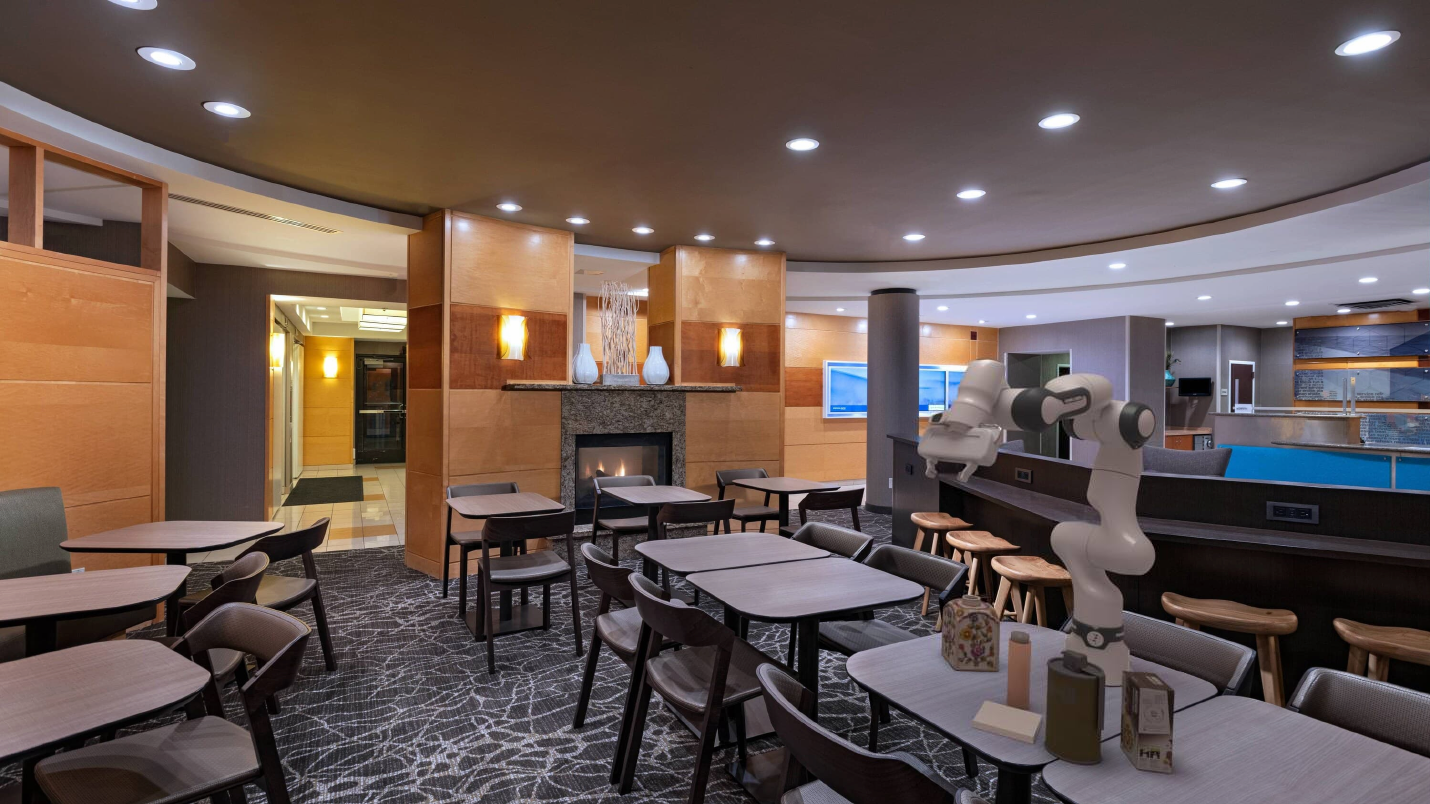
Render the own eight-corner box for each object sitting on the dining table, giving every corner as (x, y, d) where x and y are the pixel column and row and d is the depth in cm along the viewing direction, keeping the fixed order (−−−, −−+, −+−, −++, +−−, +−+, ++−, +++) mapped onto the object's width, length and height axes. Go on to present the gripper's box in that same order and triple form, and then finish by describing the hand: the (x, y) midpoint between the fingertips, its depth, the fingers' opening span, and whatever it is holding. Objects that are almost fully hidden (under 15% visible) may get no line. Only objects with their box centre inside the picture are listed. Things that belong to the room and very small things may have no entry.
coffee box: (1173, 774, 132) (1176, 691, 131) (1136, 769, 133) (1139, 687, 133) (1153, 750, 141) (1155, 672, 140) (1118, 746, 142) (1121, 668, 142)
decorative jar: (999, 672, 178) (1001, 604, 178) (954, 671, 179) (957, 602, 178) (982, 655, 190) (984, 590, 190) (940, 653, 191) (942, 589, 190)
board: (985, 706, 158) (985, 700, 158) (1042, 721, 152) (1042, 714, 152) (972, 727, 148) (972, 720, 148) (1032, 744, 142) (1033, 736, 142)
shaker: (1009, 697, 163) (1011, 628, 163) (1030, 703, 161) (1033, 633, 160) (1004, 705, 159) (1007, 634, 159) (1027, 711, 157) (1029, 639, 156)
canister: (1033, 745, 141) (1036, 649, 141) (1064, 733, 146) (1067, 641, 146) (1083, 771, 132) (1087, 668, 132) (1115, 758, 137) (1118, 659, 137)
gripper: (1013, 431, 147) (991, 490, 144) (942, 427, 165) (922, 479, 162) (994, 418, 144) (972, 477, 141) (924, 415, 162) (903, 468, 160)
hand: (945, 478), depth 152 cm, fingers open, 8 cm apart
